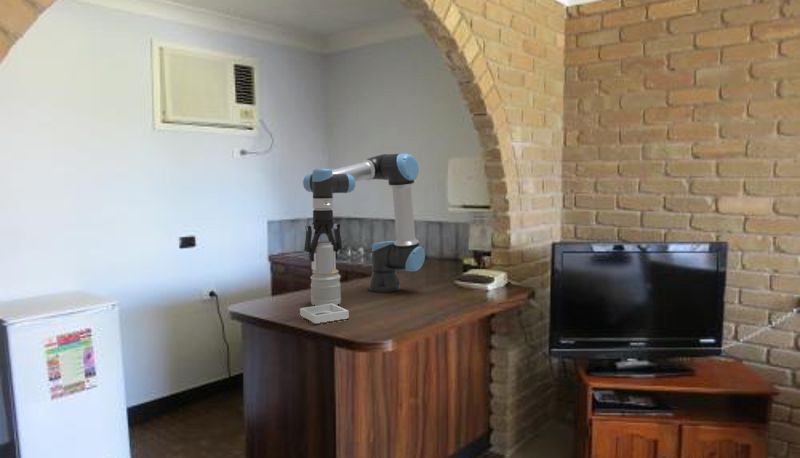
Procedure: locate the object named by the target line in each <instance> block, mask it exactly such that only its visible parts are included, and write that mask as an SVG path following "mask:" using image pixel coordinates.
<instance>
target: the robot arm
mask: <svg viewBox="0 0 800 458" xmlns="http://www.w3.org/2000/svg"><path fill="white" fill-rule="evenodd" d="M419 168H420V167H419V163H418V161H417V160H416V158H415V157H414V156H413V155H411V154H410V153H409V154H408V153H387V154H386V153H384V154H379V155H375V156H372V157H369V158H365V159H361V160H360V161H359V162H358V163H354V164H350V165H346V166H343V167H338V168H334V169H332V168H314V169H313V170H312V173H309V174H306V175H305V176H304V177H303V181H302V184H303V185H302V186H303V188H304V189H305V191H306V192H308V193H312V208H313V209H314V210H313V211H312V219H313V220H312V224H310V225H309V224H308V225H307V224H306V225H305V226H304V227H305V231H306V233H305V241H304V248H303V249H304V252H306V253H308V254H309V255H308V257H309V258H308V259H309V262H311V270H312V271H313V270H316V253H314V251H315V248H316V246H317V243H318V242H319V240H320V237H321V236H322V235H324V234H325V235H326V237H327V239H328V242H332V243H331V244H332V245H333V265H334V268H335V269H337V268H336V263H337V262H336V260H338V252H339V251H340V250H342V249H343V245H342V238H341V224H340V223H334V221H333V219H334V211H333V208H334V204H333V203H334V202H333V198H334V197H333V196H334V194H347V193H352V192H353V191H354V190H355V187H356V182H360V181H363V180H364V181H371V180H372V181H373V180H384V181H388V186H389V187H390V188H391V189H392V199H393V201H392V202H393V210H394V213H393V214H394V223H395V232H396V235H395V236H396V240H389V241H388V240H386V241H380V242H379V241H378V242H374V243H373V244H372V248H371V268H372V269H371V270H372V272H371V273H372V274H371V276H370V280H369V283H368V290H369V291H371V292H376V293H389V292H390V293H391V292H397V291H399V290H401V283H400V280H399V277H398V274H397V270H398V271H399V270H401V271H406V272H417V271H419V270H420V269H421V267H422V266H423V265H424V262H425V259H426V252H425V249H424V248H423V247H422V246H420V243H419V242H420V241H419V240H418V239H417V238H416V230H415V219H414V217H415V216H414V209H413V208H414V207H413V194H412V187H413V185H414V184H415V180H416V179H417V178H418V176H419V175H418V174H419V170H420V169H419ZM313 229H314V232H313ZM332 229H333V232H334V233H333V232H332ZM312 234H313V237H312ZM333 234H334V235H333Z"/></svg>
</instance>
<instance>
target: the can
mask: <svg viewBox="0 0 800 458" xmlns="http://www.w3.org/2000/svg"><path fill="white" fill-rule="evenodd" d="M331 243H332V242H329V241H326V240H325V241H318V243H317V246H316V248H315V251H314V253H316V270H314V271H315V272H316V273H317V274H330V273H332V271H333V270H334V265H333V245H332V244H331Z"/></svg>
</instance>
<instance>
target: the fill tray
mask: <svg viewBox="0 0 800 458" xmlns="http://www.w3.org/2000/svg"><path fill="white" fill-rule="evenodd" d="M349 314H350V313H349V309H345V308H343V307H341V306H338V305H335V304H325V305H319V306H314V305H311V306H307V307H301V308H300V307H299V316H300V315H301V316H303V317H305V318H307V319H309V320H311V321H312V322H314V323H320V322H327V321H334V320H340V319H347V318H349V317H350V315H349ZM349 319H350V318H349Z"/></svg>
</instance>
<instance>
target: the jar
mask: <svg viewBox="0 0 800 458" xmlns="http://www.w3.org/2000/svg"><path fill="white" fill-rule="evenodd" d="M339 272H340V270H339V269H337V268H334V270H333V271H332V273H330V274H317V273H316V272H315V271H314V270H312V272H311V273H312V275H311V276H310V279H311V283H310V284H309V285H310V303H311V306H314V305H315V306H319V305H325V304H335V305H337V306H338V304H339V305H340V304H341V302H342V294H341V293H342V292H341V285H342V283H341V281H340V280H341V277H342V276H341V274H339Z"/></svg>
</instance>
